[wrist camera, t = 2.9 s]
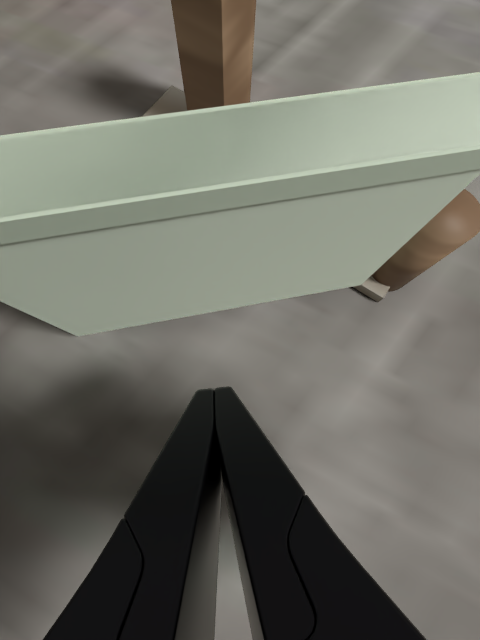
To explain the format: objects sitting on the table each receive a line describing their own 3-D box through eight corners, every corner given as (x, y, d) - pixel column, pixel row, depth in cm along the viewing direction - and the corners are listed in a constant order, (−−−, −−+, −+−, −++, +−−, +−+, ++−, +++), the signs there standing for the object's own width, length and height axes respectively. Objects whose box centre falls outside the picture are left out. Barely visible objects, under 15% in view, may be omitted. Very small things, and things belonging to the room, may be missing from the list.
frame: (390, 309, 16) (585, 192, 7) (123, 148, 18) (21, -98, 9) (436, 227, 17) (650, 43, 8) (182, 85, 19) (142, -182, 10)
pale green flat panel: (349, 248, 15) (483, 71, 7) (361, 287, 15) (519, 143, 7) (74, 296, 14) (-129, 152, 6) (77, 338, 14) (-139, 243, 6)
